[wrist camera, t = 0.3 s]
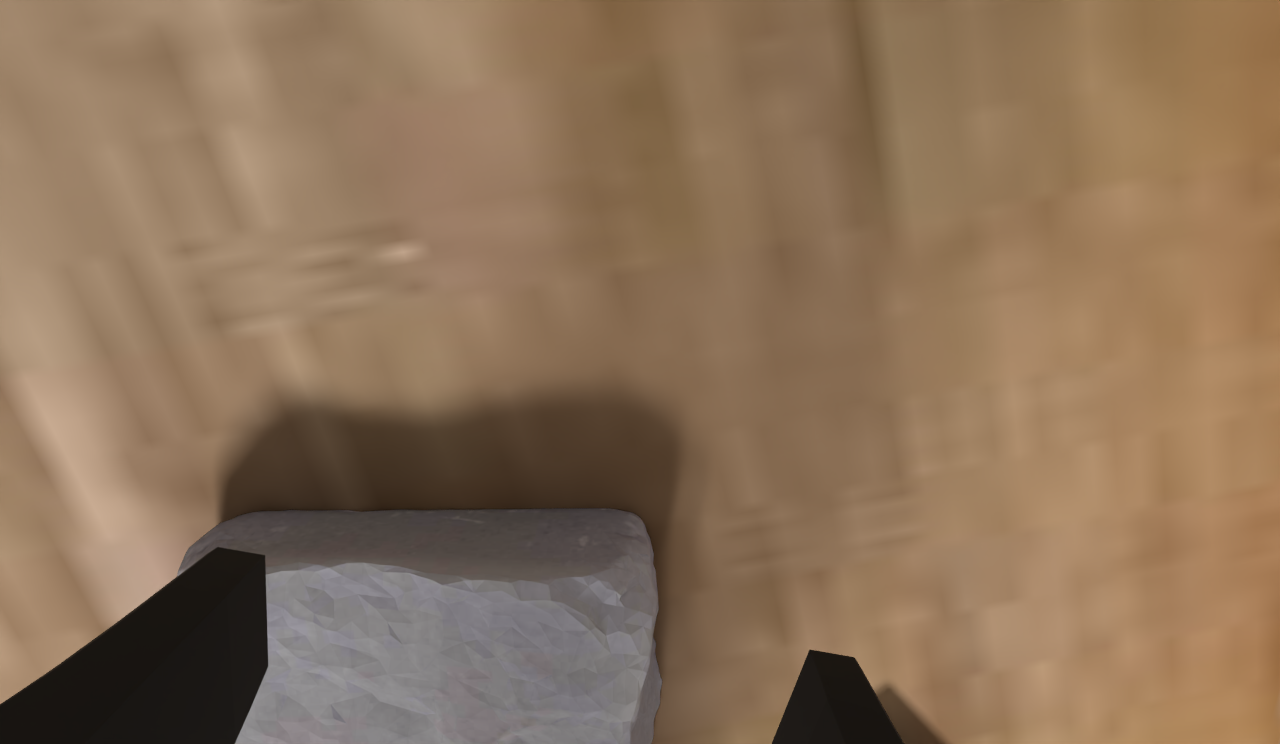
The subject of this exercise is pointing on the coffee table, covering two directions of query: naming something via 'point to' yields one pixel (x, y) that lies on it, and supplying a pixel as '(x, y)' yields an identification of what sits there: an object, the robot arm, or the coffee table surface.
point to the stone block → (452, 626)
